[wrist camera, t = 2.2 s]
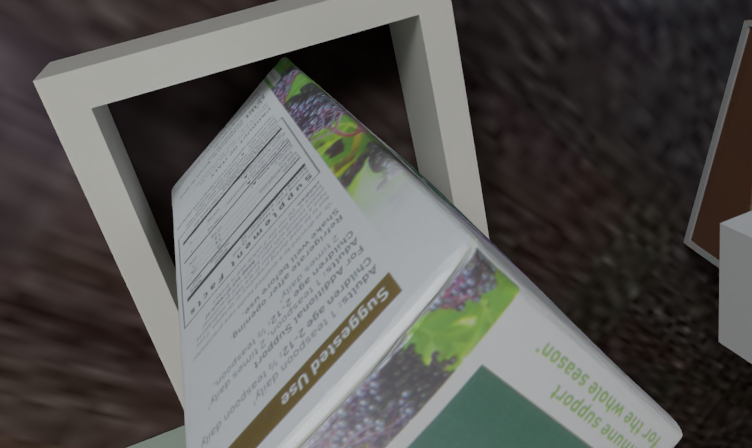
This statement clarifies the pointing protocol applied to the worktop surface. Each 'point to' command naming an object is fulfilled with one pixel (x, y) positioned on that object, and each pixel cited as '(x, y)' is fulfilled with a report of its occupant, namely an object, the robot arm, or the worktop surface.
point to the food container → (726, 159)
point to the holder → (225, 51)
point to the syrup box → (368, 303)
